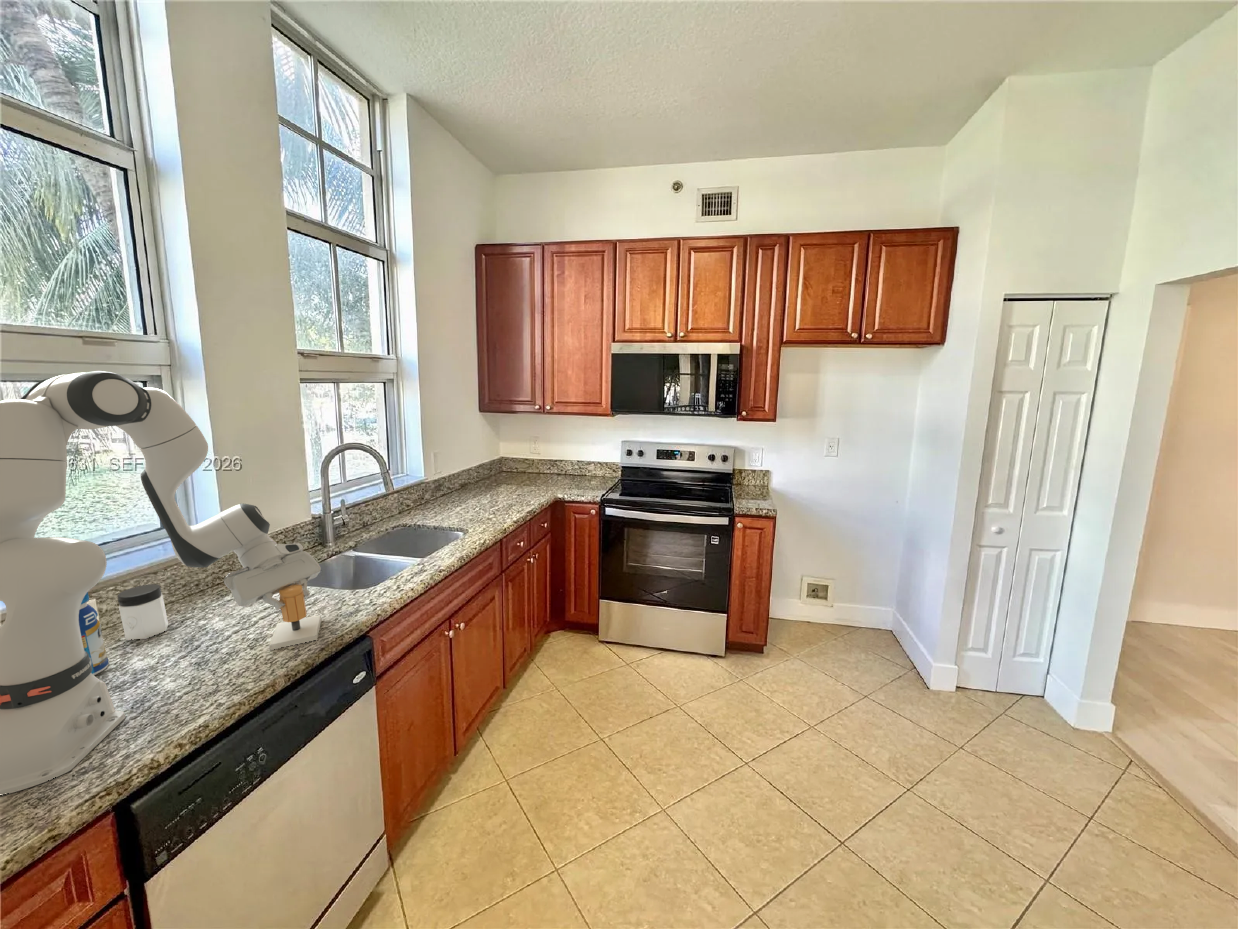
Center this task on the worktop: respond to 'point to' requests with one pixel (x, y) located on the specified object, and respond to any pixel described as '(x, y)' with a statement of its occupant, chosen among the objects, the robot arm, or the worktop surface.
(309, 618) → the board
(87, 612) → the beverage bottle
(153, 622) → the jar
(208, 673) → the worktop surface
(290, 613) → the fluted domed cylinder
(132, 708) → the worktop surface
